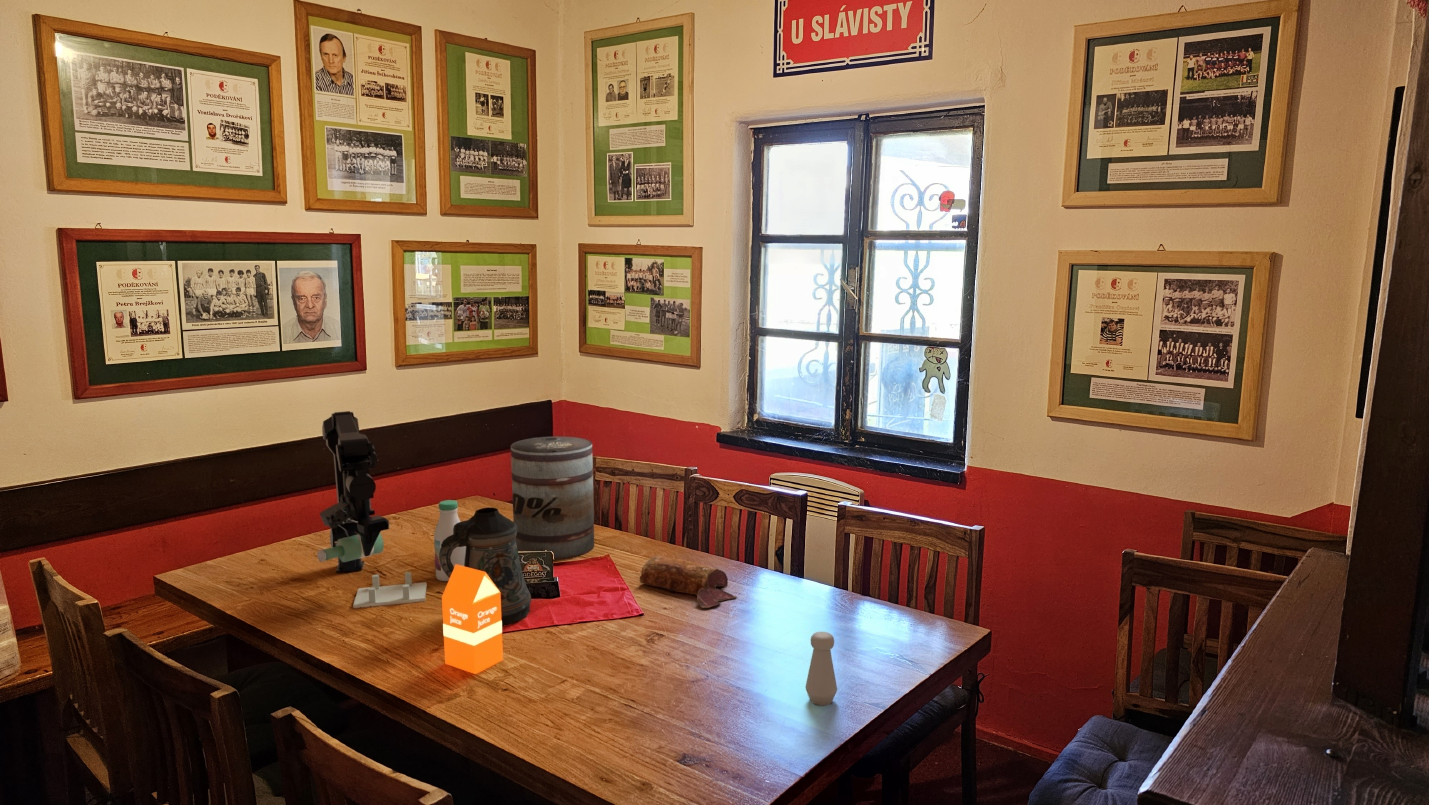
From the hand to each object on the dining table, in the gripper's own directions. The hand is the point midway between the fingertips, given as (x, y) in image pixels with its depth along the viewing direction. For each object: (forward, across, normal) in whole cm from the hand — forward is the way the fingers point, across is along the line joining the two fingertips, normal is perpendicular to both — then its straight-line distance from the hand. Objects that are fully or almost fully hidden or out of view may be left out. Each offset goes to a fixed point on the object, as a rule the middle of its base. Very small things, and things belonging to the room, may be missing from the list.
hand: (361, 553), depth 212 cm
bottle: (+1, 0, -3) cm, 3 cm away
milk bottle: (+11, +3, +22) cm, 25 cm away
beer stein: (+12, +32, +14) cm, 37 cm away
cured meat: (+12, +55, +57) cm, 80 cm away
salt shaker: (+12, +112, +33) cm, 117 cm away
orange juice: (+12, +50, -1) cm, 51 cm away
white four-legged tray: (+11, +4, +5) cm, 13 cm away
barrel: (+11, +4, +55) cm, 56 cm away
